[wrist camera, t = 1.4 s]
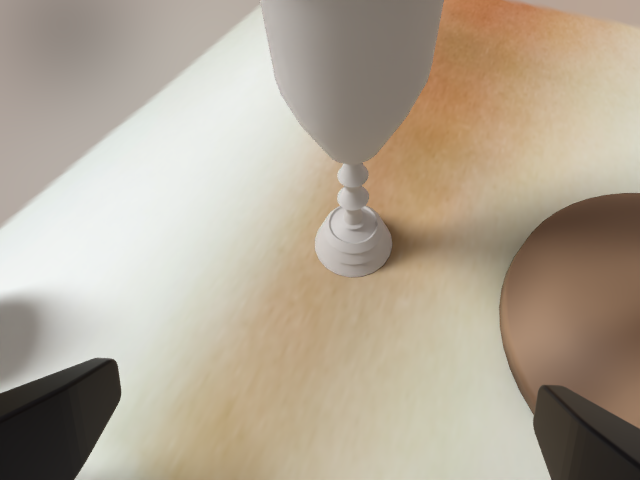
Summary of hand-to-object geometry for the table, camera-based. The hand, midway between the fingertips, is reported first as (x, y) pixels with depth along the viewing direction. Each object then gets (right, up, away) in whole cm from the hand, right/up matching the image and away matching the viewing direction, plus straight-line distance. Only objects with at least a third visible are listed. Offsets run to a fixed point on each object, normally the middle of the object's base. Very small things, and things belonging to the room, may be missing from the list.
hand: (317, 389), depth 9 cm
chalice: (+2, +3, +18) cm, 18 cm away
